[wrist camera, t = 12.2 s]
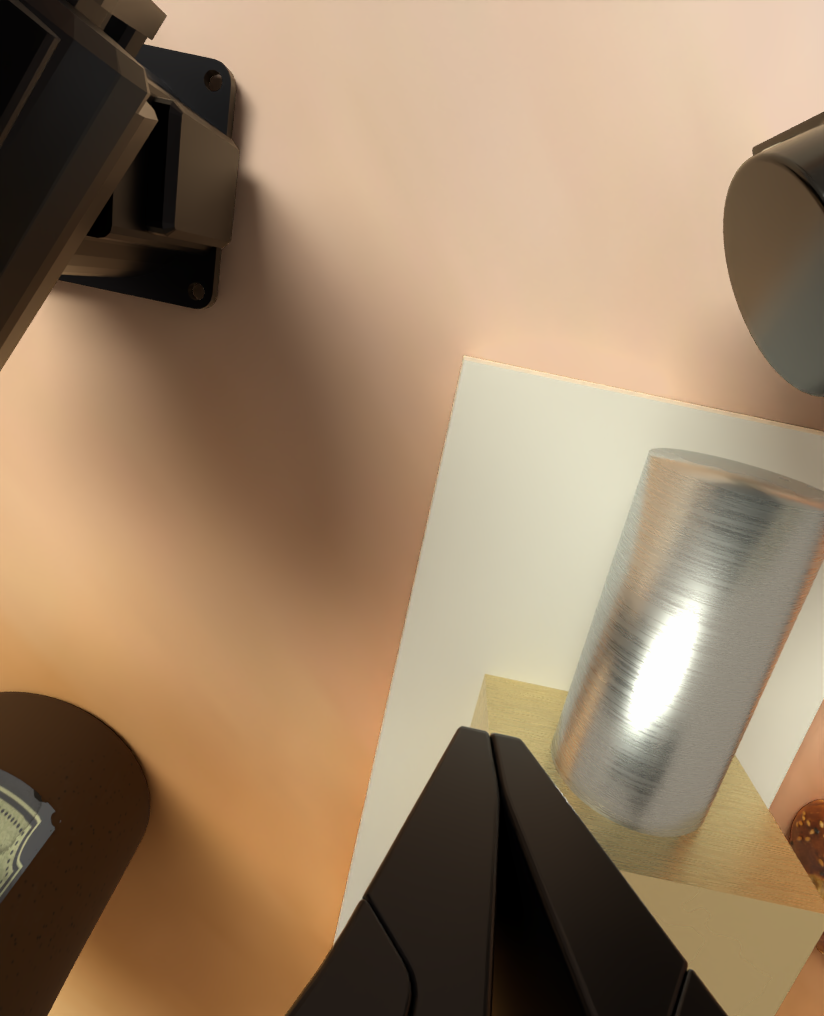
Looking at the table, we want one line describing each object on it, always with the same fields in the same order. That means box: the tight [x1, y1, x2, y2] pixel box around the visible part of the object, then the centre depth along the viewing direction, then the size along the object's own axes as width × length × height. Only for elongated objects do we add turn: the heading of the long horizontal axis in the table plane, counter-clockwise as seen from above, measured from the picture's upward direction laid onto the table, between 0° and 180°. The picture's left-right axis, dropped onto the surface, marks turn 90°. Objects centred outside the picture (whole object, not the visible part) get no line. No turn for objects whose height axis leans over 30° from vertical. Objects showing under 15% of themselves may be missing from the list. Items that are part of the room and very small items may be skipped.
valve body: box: [470, 448, 824, 1016], centre depth 19 cm, size 8×26×7 cm, turn 169°
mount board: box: [332, 355, 824, 947], centre depth 23 cm, size 14×28×2 cm, turn 169°
